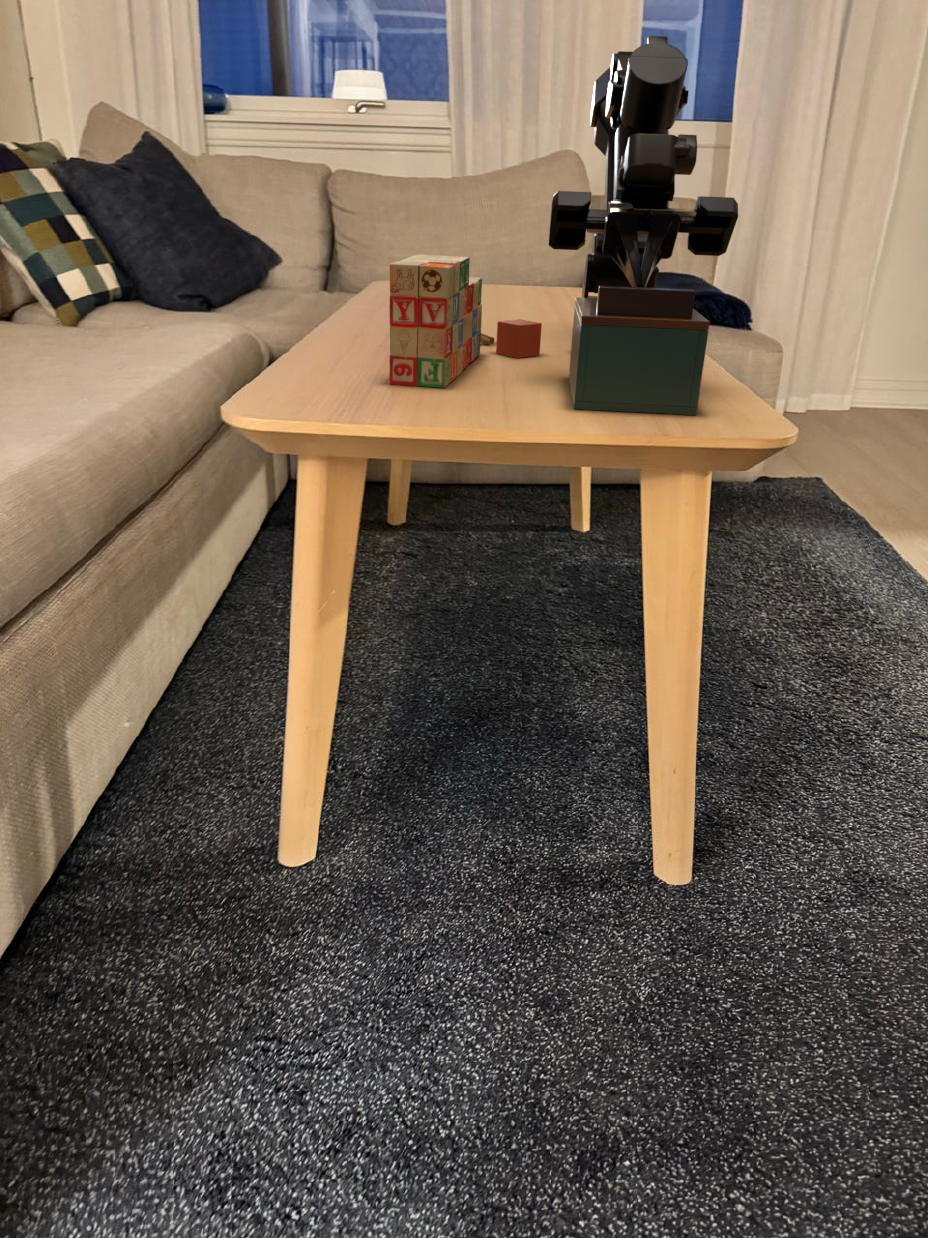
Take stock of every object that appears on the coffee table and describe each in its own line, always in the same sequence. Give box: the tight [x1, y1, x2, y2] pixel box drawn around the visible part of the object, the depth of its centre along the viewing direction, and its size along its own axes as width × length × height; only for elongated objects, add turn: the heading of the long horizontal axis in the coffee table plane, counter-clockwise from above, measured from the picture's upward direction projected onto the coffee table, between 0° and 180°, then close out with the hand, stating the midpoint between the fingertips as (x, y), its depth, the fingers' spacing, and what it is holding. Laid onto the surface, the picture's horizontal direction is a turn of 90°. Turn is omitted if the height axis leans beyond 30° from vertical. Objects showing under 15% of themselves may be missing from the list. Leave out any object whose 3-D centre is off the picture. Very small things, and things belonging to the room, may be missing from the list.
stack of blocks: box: [388, 253, 483, 389], centre depth 104 cm, size 21×6×12 cm, turn 169°
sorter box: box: [568, 305, 709, 416], centre depth 94 cm, size 15×12×8 cm
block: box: [495, 318, 543, 359], centre depth 116 cm, size 4×4×4 cm
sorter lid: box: [574, 286, 711, 331], centre depth 92 cm, size 15×12×3 cm
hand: (639, 289), depth 91 cm, fingers closed
